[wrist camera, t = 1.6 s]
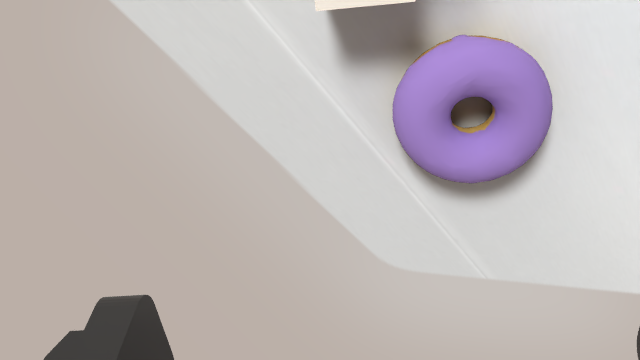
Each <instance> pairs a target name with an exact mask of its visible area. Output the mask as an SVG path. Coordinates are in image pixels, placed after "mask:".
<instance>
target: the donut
mask: <svg viewBox="0 0 640 360" xmlns="http://www.w3.org/2000/svg"><path fill="white" fill-rule="evenodd" d="M467 97H482V98H484V99H486V100H488V101H489V102H490V103H491V104H492V105H493V111H492V113H491V115H490V117H489V118H488V119H487V120H486V121H485V122H484V123H483V124H481V125H479V126H477V127H470V128H463V127H458V126H457V125H455V124H453V123H452V121H451V110H452V109H453V107H454V106H455V105H456V104H457V103H458V102H459V101H461V100H463V99H465V98H467ZM552 109H553V108H552V94H551V90H550V86H549V83H548V81H547V78H546V76H545V73H544V71H543V70H542V68H541V67H540V66H539V64H538V63H537V61H536V60H535V59H534V58H533V57H532V56H531V55H529V54H528V53H526V52H525V51H523V50H522V49H521V48H519V47H518V46H515V45H514V44H512V43H510V42H507V41H504V40H501V39H497V38H491V37H486V36H466V35H459V36H456V37H454V38H452V39H450V40H447V41H444V42H441V43H439V44H437V45H436V46H434V47H432V48H431V49H429V50H427V51H426V52H424V53H423V54H422V55H420V56H419V57H418V58H417V59H416V60H415V61H414V62H413V63H412V65H411V66H410V67H409V68H408V69H407V71H406V73H405V74H404V76H403V78H402V80H401V82H400V83H399V85H398V87H397V89H396V93H395V96H394V101H393V122H394V127H395V131H396V135H397V137H398V139H399V141H400V143H401V145H402V147H403V148H404V150H405V151H406V152H407V154H408V155H409V156H410V157H411V158H412V159H413V160H414V161H415V163H416V164H418V165H419V166H420V167H422V168H423V169H425V170H426V171H427V172H429V173H431V174H433V175H435V176H438V177H440V178H443V179H446V180H450V181H454V182H463V183H477V182H484V181H490V180H493V179H496V178H499V177H501V176H504V175H506V174H509V173H511V172H512V171H514V170H516V169H517V168H519V167H520V166H522V165H523V164H524V163H525V162H526V161H527V160H528V159H530V158H531V157H532V156H533V155H534V154H535V152H536V151H537V150H538V148H539V147H540V146H541V144H542V142H543V140H544V138H545V136H546V134H547V132H548V129H549V127H550V122H551V116H552Z"/></svg>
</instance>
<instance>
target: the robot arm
mask: <svg viewBox="0 0 640 360" xmlns="http://www.w3.org/2000/svg"><path fill="white" fill-rule="evenodd" d="M637 353H638V359H639V360H640V328H639V331H638V336H637ZM44 360H174V358H173V354H172V351H171V348H170V345H169V342H168V340H167V337H166V334H165V332H164V329H163V326H162V323H161V321H160V318H159V315H158V312H157V310H156V307H155V304H154V302H153V300H152V298H151V297H150V296H148V295H136V296H119V297H118V296H117V297H103V298H101V299H100V300H99V301H98V302H97V304H96V306H95V308H94V310H93V312H92V314H91V316H90V318H89V321H88V323H87V325H86V327H85V329H84V330H83V331H70V332H69V333H68V334H67V335H66V336H65V337H64V338H63V339H62V340H61V341H60V342H59V343H58V344H57V345H56V346H55V347H54V348H53V349H52V351H51V352H50V353H49V354H48V355H47V356H46V357H45V358H44Z"/></svg>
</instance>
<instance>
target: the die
mask: <svg viewBox="0 0 640 360" xmlns="http://www.w3.org/2000/svg"><path fill="white" fill-rule="evenodd" d="M407 2H416V0H315V6H316V11H323V10H333V9H344V8H354V7H365V6H375V5H386V4H396V3H407Z"/></svg>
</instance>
